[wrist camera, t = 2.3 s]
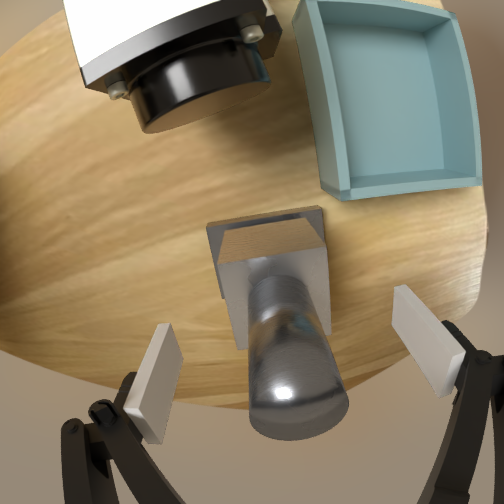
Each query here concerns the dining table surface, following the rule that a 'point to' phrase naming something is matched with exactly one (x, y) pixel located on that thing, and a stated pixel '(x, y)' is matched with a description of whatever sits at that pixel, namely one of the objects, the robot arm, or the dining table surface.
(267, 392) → the block with domed cylinder
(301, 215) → the stud plate
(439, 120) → the bin
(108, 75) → the ball valve
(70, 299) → the dining table surface
